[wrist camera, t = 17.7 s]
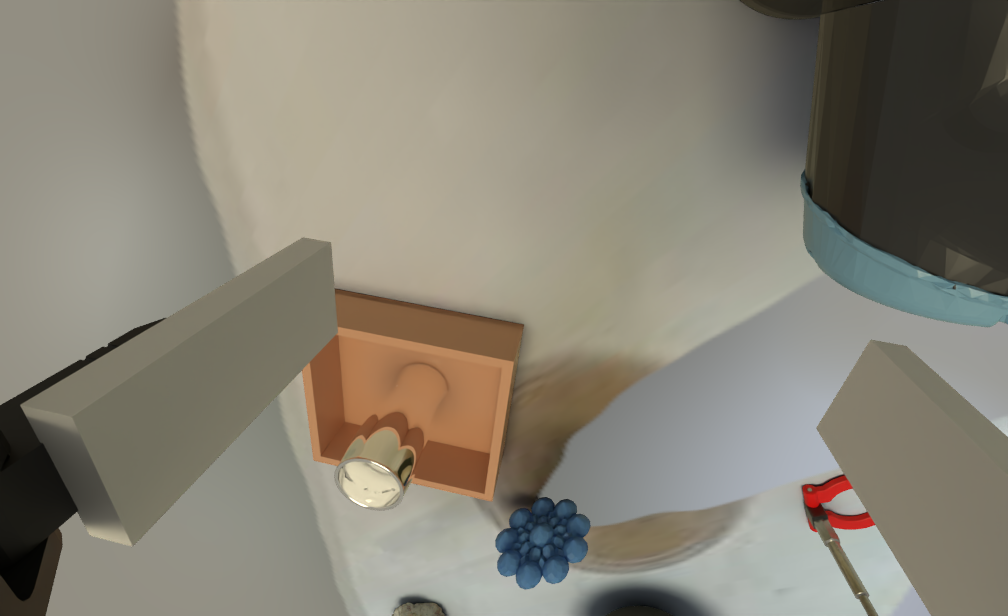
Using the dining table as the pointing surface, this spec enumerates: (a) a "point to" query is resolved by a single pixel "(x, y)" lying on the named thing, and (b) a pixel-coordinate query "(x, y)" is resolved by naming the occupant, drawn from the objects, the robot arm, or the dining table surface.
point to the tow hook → (824, 526)
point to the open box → (375, 368)
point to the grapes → (542, 542)
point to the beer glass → (392, 441)
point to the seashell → (418, 610)
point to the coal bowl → (638, 611)
